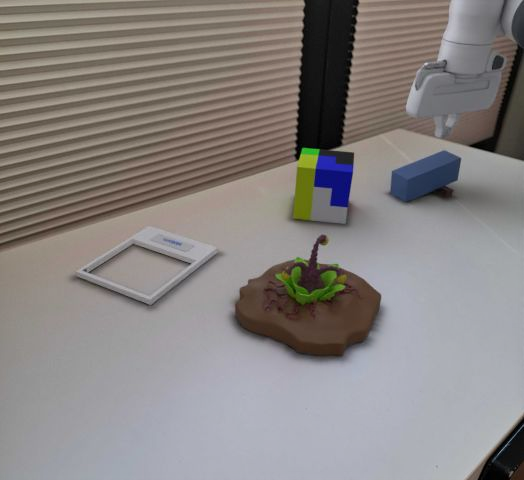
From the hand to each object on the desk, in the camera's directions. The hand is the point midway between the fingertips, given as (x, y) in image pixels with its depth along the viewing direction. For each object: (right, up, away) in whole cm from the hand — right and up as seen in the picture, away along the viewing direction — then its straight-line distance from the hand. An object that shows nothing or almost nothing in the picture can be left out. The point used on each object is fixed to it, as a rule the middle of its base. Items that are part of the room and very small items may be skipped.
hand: (442, 136), depth 102 cm
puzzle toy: (-25, -15, -1) cm, 29 cm away
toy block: (+4, -4, +6) cm, 8 cm away
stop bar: (+1, -8, +8) cm, 11 cm away
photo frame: (-55, -29, -19) cm, 65 cm away
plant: (-29, -37, -27) cm, 54 cm away
